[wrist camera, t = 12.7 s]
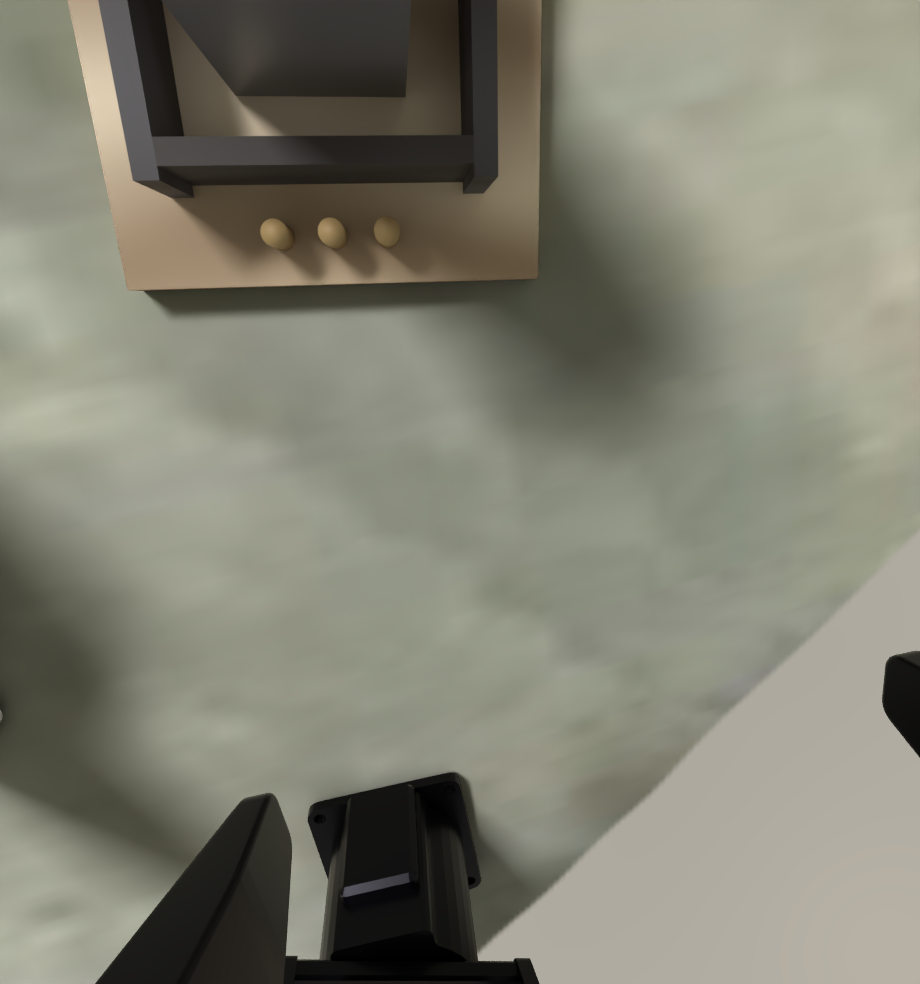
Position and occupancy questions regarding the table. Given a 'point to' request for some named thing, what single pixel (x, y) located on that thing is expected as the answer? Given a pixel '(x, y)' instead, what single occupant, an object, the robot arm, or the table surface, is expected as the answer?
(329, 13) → the plug block
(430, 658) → the table surface
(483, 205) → the socket board
